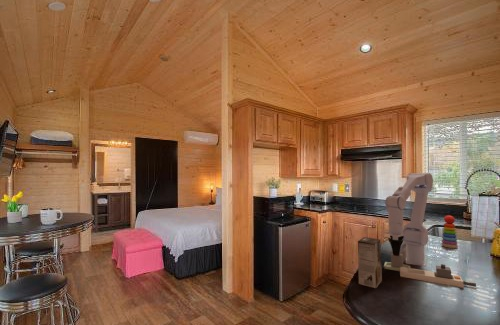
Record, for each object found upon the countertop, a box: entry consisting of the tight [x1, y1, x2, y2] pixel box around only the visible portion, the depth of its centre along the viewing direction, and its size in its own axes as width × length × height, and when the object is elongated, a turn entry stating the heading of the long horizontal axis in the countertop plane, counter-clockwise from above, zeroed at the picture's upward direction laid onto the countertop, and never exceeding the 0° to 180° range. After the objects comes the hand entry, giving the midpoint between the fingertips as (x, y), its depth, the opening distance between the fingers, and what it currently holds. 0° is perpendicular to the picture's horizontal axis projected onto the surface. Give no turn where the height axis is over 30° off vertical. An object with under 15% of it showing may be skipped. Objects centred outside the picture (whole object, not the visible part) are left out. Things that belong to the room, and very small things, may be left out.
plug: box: [390, 252, 404, 268], centre depth 115 cm, size 4×4×6 cm
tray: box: [383, 261, 411, 272], centre depth 115 cm, size 8×10×1 cm
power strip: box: [399, 267, 477, 289], centre depth 101 cm, size 7×24×3 cm, turn 58°
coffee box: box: [357, 236, 383, 289], centre depth 99 cm, size 9×6×16 cm
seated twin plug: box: [435, 263, 452, 279], centre depth 100 cm, size 4×4×6 cm
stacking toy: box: [441, 215, 459, 249], centre depth 157 cm, size 8×8×19 cm
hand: (396, 253), depth 115 cm, fingers open, 7 cm apart
